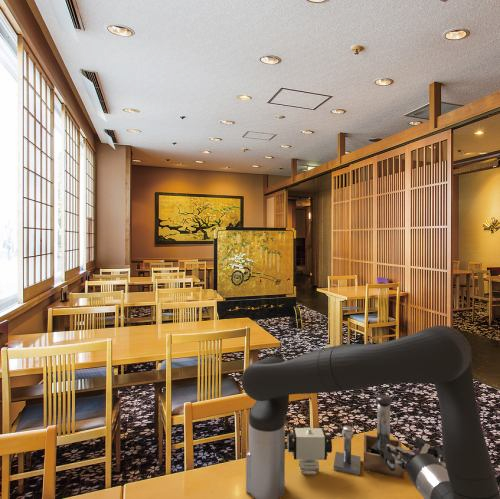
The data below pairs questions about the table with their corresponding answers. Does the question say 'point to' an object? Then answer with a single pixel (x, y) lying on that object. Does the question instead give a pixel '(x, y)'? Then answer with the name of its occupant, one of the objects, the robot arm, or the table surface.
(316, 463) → the pneumatic rotary actuator
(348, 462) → the stud mount
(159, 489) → the table surface
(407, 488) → the table surface
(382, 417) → the strut
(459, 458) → the robot arm
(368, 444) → the bin
